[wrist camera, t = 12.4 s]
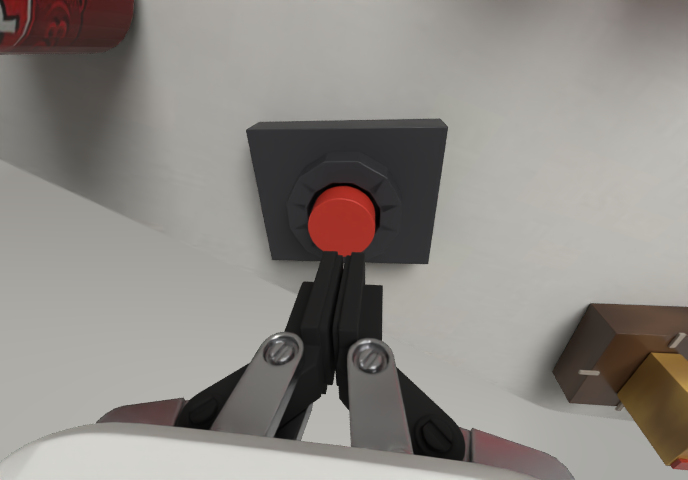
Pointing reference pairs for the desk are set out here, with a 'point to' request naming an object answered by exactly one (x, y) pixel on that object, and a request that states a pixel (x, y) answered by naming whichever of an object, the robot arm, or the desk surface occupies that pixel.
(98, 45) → the soda can
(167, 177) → the desk surface
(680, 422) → the handle
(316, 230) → the button
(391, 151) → the button box
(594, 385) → the plate
